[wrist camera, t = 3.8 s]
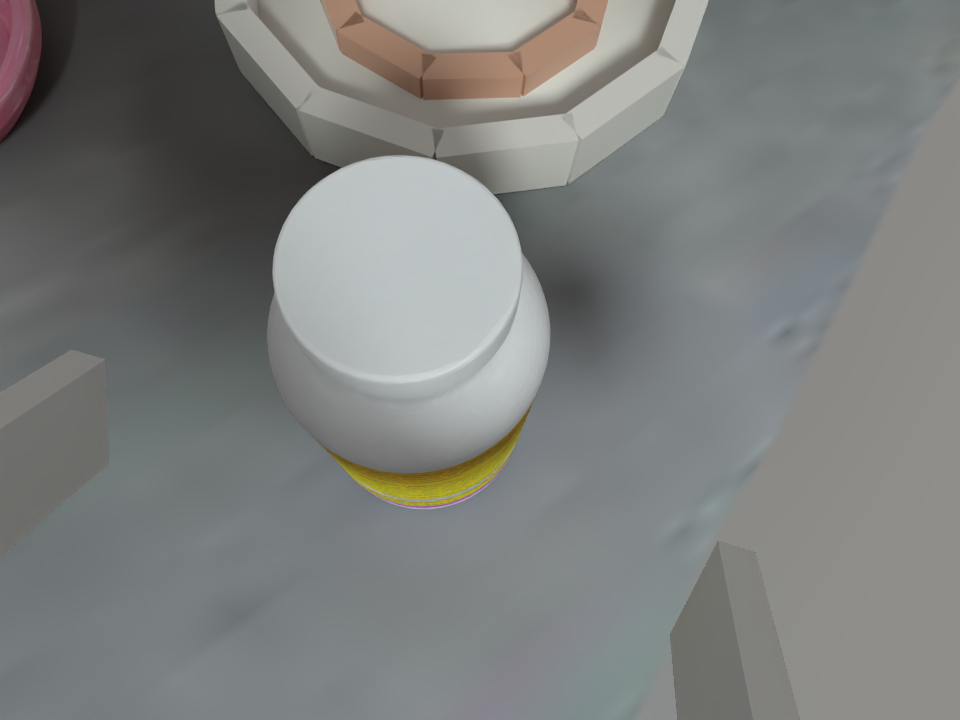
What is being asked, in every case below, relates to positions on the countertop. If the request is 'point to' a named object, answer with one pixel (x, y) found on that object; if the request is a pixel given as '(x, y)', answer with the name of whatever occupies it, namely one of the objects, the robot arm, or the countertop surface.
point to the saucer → (17, 58)
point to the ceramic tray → (465, 78)
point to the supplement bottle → (407, 328)
